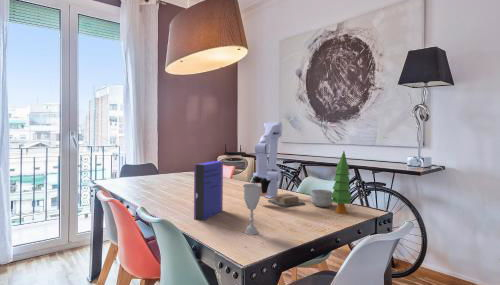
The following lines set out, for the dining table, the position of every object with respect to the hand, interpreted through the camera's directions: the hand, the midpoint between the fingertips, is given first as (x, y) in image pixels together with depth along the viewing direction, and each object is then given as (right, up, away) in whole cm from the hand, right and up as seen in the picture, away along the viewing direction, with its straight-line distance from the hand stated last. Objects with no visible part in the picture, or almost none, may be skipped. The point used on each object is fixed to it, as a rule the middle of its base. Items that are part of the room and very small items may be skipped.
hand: (261, 192), depth 157 cm
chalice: (-5, -9, -42) cm, 43 cm away
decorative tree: (+38, -8, -13) cm, 40 cm away
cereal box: (-25, -8, -19) cm, 32 cm away
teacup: (+33, -7, 0) cm, 33 cm away
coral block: (0, -2, 0) cm, 2 cm away
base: (+14, -7, +5) cm, 16 cm away
